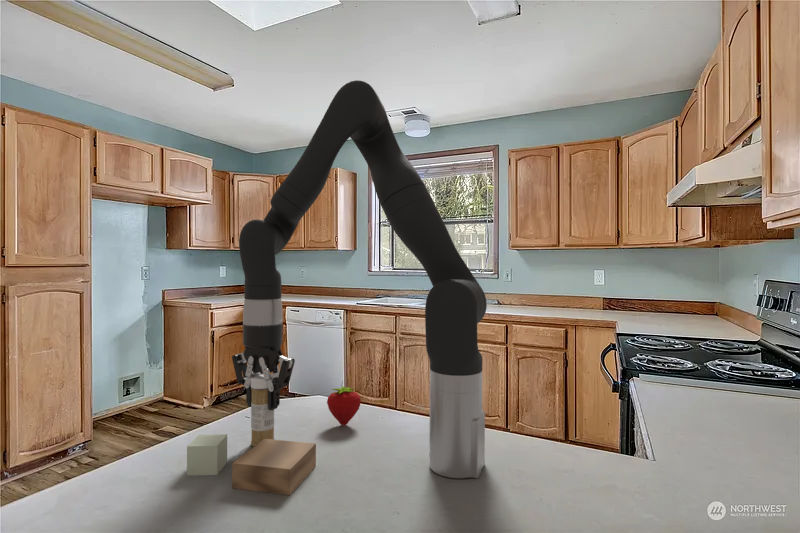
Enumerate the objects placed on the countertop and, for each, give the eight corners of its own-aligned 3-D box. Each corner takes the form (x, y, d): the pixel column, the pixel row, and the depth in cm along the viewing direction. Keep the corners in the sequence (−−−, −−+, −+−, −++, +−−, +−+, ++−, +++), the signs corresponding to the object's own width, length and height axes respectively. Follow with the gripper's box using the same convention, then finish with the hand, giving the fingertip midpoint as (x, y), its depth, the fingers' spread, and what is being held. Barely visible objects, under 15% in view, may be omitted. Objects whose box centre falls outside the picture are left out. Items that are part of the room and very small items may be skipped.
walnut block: (315, 466, 77) (315, 443, 77) (290, 495, 68) (290, 469, 68) (264, 460, 79) (264, 438, 79) (232, 488, 70) (232, 463, 70)
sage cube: (227, 462, 79) (227, 434, 79) (217, 475, 74) (217, 445, 74) (198, 462, 79) (199, 434, 79) (186, 475, 74) (186, 446, 74)
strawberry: (360, 430, 94) (360, 384, 94) (325, 430, 94) (325, 384, 94) (361, 420, 100) (361, 377, 100) (328, 420, 100) (328, 377, 100)
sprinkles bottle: (269, 437, 90) (269, 372, 90) (278, 444, 87) (278, 376, 87) (246, 443, 87) (247, 375, 87) (255, 450, 84) (255, 380, 84)
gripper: (304, 321, 88) (303, 406, 88) (247, 317, 93) (247, 398, 93) (280, 325, 81) (280, 418, 81) (220, 321, 86) (220, 408, 86)
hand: (262, 407), depth 87 cm, fingers closed on sprinkles bottle, 4 cm apart
